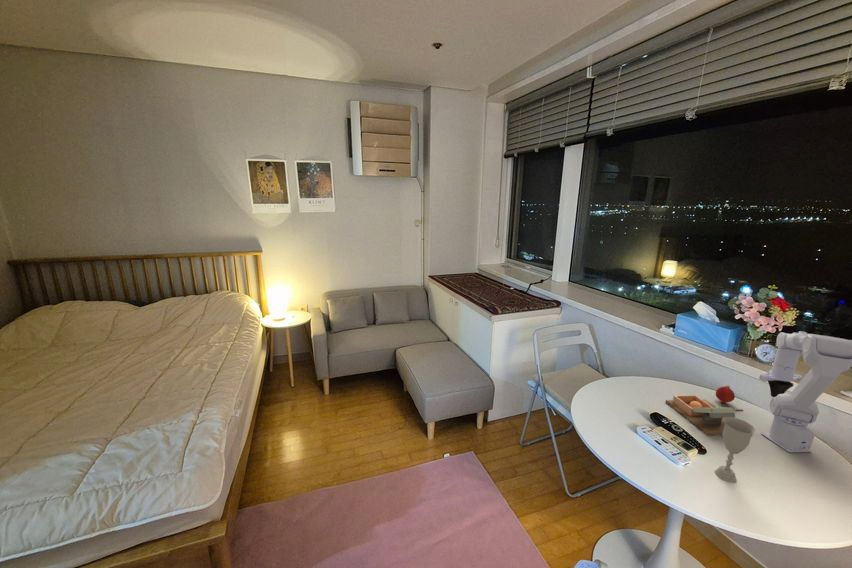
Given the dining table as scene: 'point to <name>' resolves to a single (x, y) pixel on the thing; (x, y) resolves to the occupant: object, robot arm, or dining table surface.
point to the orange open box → (683, 399)
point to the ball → (695, 404)
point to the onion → (725, 394)
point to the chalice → (734, 444)
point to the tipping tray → (718, 411)
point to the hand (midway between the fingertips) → (775, 397)
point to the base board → (698, 419)
